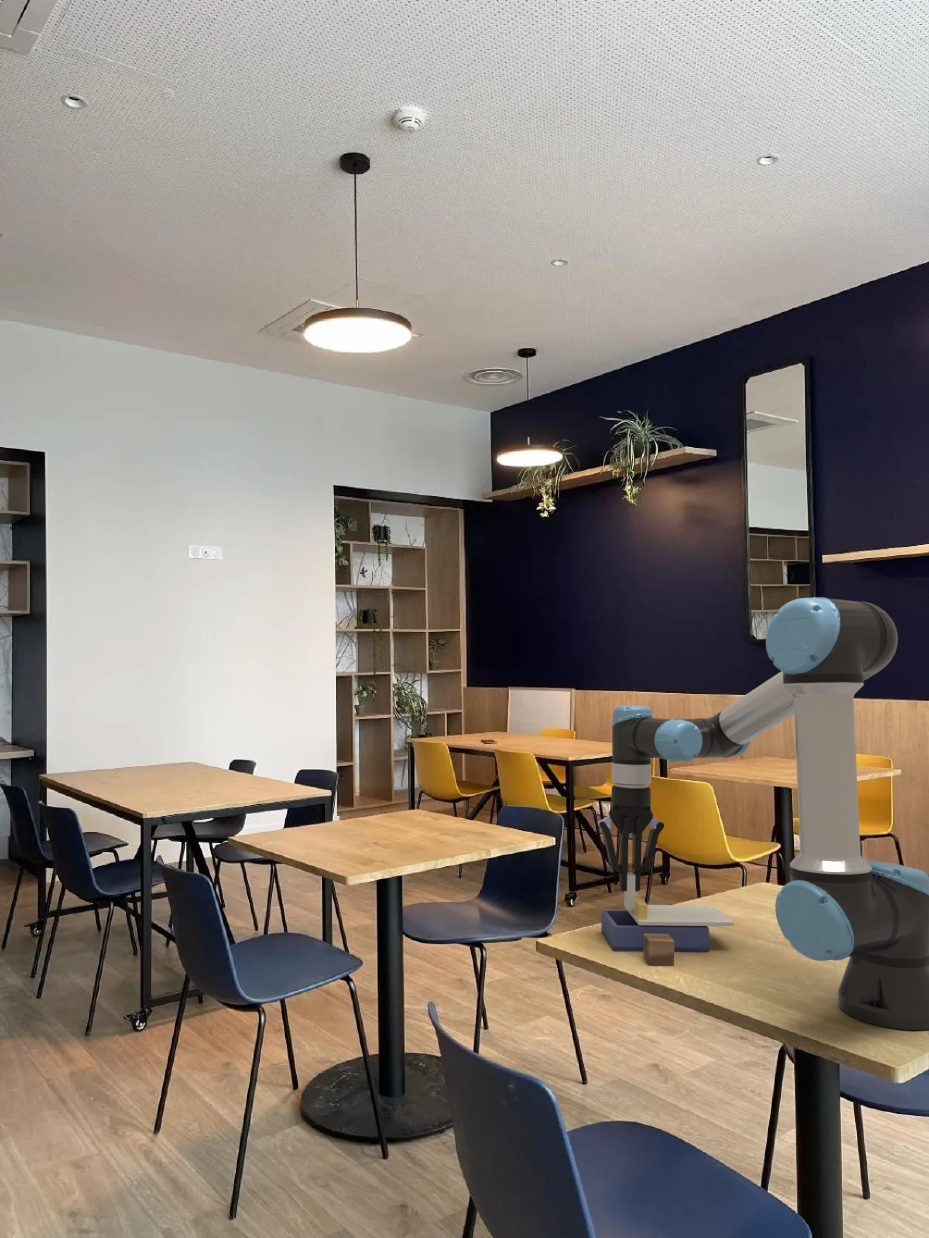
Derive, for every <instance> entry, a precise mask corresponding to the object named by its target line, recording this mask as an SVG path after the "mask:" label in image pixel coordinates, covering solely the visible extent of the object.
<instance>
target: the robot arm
mask: <svg viewBox="0 0 929 1238" xmlns="http://www.w3.org/2000/svg"><path fill="white" fill-rule="evenodd" d="M765 635H766V637H765V648H766V649H765V650H766V652H767V655H768V658H769V660H771V661H772V662H773V665H774V667H776V668H777V669H778V670H779V671H780V672H778V673H777V674H775V675H774V676H772V677H771V678H769V679H767V680H765V682H763V683H762V684H760V685H759V686H757V687H756V688H754V689H752V690H751V691H749V692H748V693H746V694H745V695H744V696H741V697H740V698H739V699H738V700H735V701H734V702H733V703H731V704H730V705H728V706H727V707H725V708H724V709H722V710H720V711H719V712H718V713H716V714H714V715H713V716H711V717H706V718H704V717H702V718H698V717H697V718H659V717H657V718H656V717H653V714H652V713H653V712H652V711H653V710H652V708H651V707H649V706H647V705H623V704H622V705H617V706H615V707H614V709H613V712H612V713H613V714H612V723H611V724H612V725H611V729H612V733H611V734H612V736H611V737H612V741H611V743H612V744H611V745H612V746H611V752H612V753H611V758H612V759H611V761H612V764H611V782H612V784H613V785H612V786H611V798H610V799H611V803H610V804H611V805H610V810H608V811H609V812H608V816H606V817H604V818H602V819H598V820H597V822H596V824H597V825H598V827H599V829H600V830H601V832H602V835H603V836H602V837H603V840H604V844H605V849H606V853H607V859H608V863H609V866H610V868H611V870H612V871H614V872H617V873H618V874H619V879H618V880H619V883H618V884H619V886H618V887H619V890H620V891H621V892H624V894H623V896H624V898H623V899H624V900H623V902H624V903H623V904H624V905H623V906H624V907H625V910H626V909H627V910H635V892H640V890H641V876H642V874H643V873H646V872H650V871H651V868H652V864H653V860H654V856H655V852H656V849H657V843H658V839H659V837H660V836H659V835H660V833H661V832H662V831H663V829H664V828H665V823H663V822H662V821H661V820H658V819H657V818H655V817H654V814H653V811H652V809H651V803H652V801H651V800H652V799H651V798H652V797H651V796H652V795H651V793H652V792H651V791H652V789H651V788H650V787H649V785H650V784H651V783H652V758H654V759H659V760H665V761H666V760H667V761H670V762H674V763H675V762H682V763H683V762H690V761H692V760H694V759H695V760H696V759H708V758H709V759H712V758H713V759H715V758H719V759H720V758H722V759H723V758H724V759H727V758H732V757H737V756H741V755H743V754H744V753H746V752H747V749H748V747H749V745H750V743H751V741H752V740H754V739H756V738H758V737H760V736H761V735H763V734H764V733H766V732H767V731H770V730H771V729H772V728H774V727H776V726H778V725H779V724H781V723H783V722H784V721H786V720H788V719H789V718H792V717H793V716H794V725H795V726H794V727H795V728H794V729H795V730H794V732H795V755H796V760H795V761H796V779H797V780H796V781H797V785H796V787H797V808H798V809H797V810H798V831H799V832H798V833H799V835H798V836H799V837H798V838H799V839H798V840H799V854H797V856H796V857H795V858H793V859H792V861H791V862H789V870H790V874H789V875H790V877H789V878H790V881H789V882H787V883H785V885H783V887H781V891H778V893H777V895H776V899H775V905H774V907H775V909H774V911H775V916H776V920H777V924H778V927H779V929H780V931H781V933H782V934H783V937H784V938H785V940H787V941H789V943H790V945H791V946H792V948H793V949H795V951H796V952H798V953H799V954H800V955H802V956H803V957H805V958H808V959H810V960H813V961H821V962H823V961H825V962H826V961H841V960H844V959H847V958H849V960H848V962H847V965H846V968H845V970H844V973H843V975H842V978H841V981H840V984H839V988H838V990H837V992H838V993H837V994H838V995H837V1003H838V1007H839V1008H840V1010H842V1012H844V1013H845V1014H847V1015H848V1016H850V1017H853V1018H855V1019H857V1020H859V1021H863V1022H865V1023H868V1024H872V1025H876V1026H881V1027H883V1028H884V1027H886V1028H891V1029H897V1030H906V1031H907V1030H909V1031H917V1030H918V1031H920V1030H929V874H927V873H926V872H925V871H923V870H921V869H917V868H914V867H912V866H911V867H910V866H908V865H907V866H906V865H902V864H895V863H891V862H887V861H886V862H885V861H879V860H872V859H864V858H863V857H862V855H861V841H860V839H861V838H860V818H859V816H860V815H859V796H858V795H859V791H858V770H857V769H858V768H857V750H856V749H857V747H856V728H855V727H856V725H855V723H856V722H855V703H854V702H855V701H854V700H855V699H854V697H855V695H856V693H857V692H858V691H859V690H860V689H862V687H864V684H865V683H864V681H865V680H868V679H870V677H873V676H874V675H875V674H878V673H879V672H880V671H881V670H883V669H884V668H885V667H886V666H888V665H889V663H890V662H891V661H892V660H893V657H894V656H895V654H896V652H897V651H896V650H897V648H898V643H899V642H898V641H899V639H898V637H899V636H898V631H897V626H896V625H895V623H894V620H893V619H892V618H891V617H890V615H889V614H888V613H887V612H886V611H885V610H883V609H882V608H881V607H879V606H877V605H876V604H873V603H870V602H866V601H862V600H861V601H860V600H859V601H858V600H845V599H839V598H838V599H837V598H829V597H821V596H818V597H801V598H797V599H792V600H791V601H789V602H787V603H784V605H782V606H781V607H780V608H779V610H778V611H777V612H776V613H775V614H774V615H773V616H772V618H771V620H770V622H769V625H768V627H767V631H766V634H765ZM612 824H613V826H615V828H616V829H617V831H618V836H619V845H618V846H619V847H618V849H619V851H618V852H619V854H618V857H619V858H617V855H616V853H617V852H616V849H615V846H614V841H613V836H612V833H611V830H610V829H611V828H612ZM648 825H649V828H650V829H649V833H648V836H647V837H648V838H647V842H646V846H645V849H644V853H643V857H642V839H643V832H644V831H645V830H646V828H647V827H648ZM630 834H631V837H632V841H631V842H632V843H631V844H632V848H631V849H632V854H631V855H632V859H631V861H632V862H631V865H632V868H631V869H632V871H631V872H629V840H630Z"/></svg>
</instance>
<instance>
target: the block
mask: <svg viewBox="0 0 929 1238" xmlns="http://www.w3.org/2000/svg"><path fill="white" fill-rule="evenodd" d="M642 953H643V955H642V956H643V957H642V958H643V960H644V961H645V963H646V964H647V966H648V967H675V952H674V940H673V939H672V938H671V937H670V936H669V934H644V947H643V952H642Z"/></svg>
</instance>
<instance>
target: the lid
mask: <svg viewBox="0 0 929 1238" xmlns="http://www.w3.org/2000/svg"><path fill="white" fill-rule="evenodd" d="M625 910H627V909H626V908H625ZM627 911H628V912H629V913H630V915H631V916H632V917H633V918H634V920H635V921H636V922H637V923H638V925H667V926H707V927H734V926H735V922H734V921H733V920H731V918H729V917H728V916H727V915H726V914H724V913H723V911H721V910H720V909H719V908H718V907H716V905H693V904H692V905H690V904H689V905H688V904H687V905H684V904H683V905H679V904H678V905H677V904H676V905H675V904H670V905H668V904H647V903H646V901H644V899H643V898H642V897H641V896H640V895H639V894H638V893H637V891H635V910H627Z"/></svg>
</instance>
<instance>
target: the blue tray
mask: <svg viewBox="0 0 929 1238" xmlns="http://www.w3.org/2000/svg"><path fill="white" fill-rule="evenodd" d="M600 923H601V928H600V932H601V934H602V936H603V937H604V939H605V940H606V942H607V944H608V946H609V947H610V948H611V950H612V951H613V952H642V953H643V947H644V934H669V936H670V937H671V938H672V939H673V940H674V953H709V951H710V950H709V948H710V946H709V945H710V943H709V942H710V940H709V939H710V926H667V925H638V923H637V922H636V921H635V920H634V918H633V917H632V916H631V915H630V913H629V912H628V911H627V910H626V909H601V922H600Z"/></svg>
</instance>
